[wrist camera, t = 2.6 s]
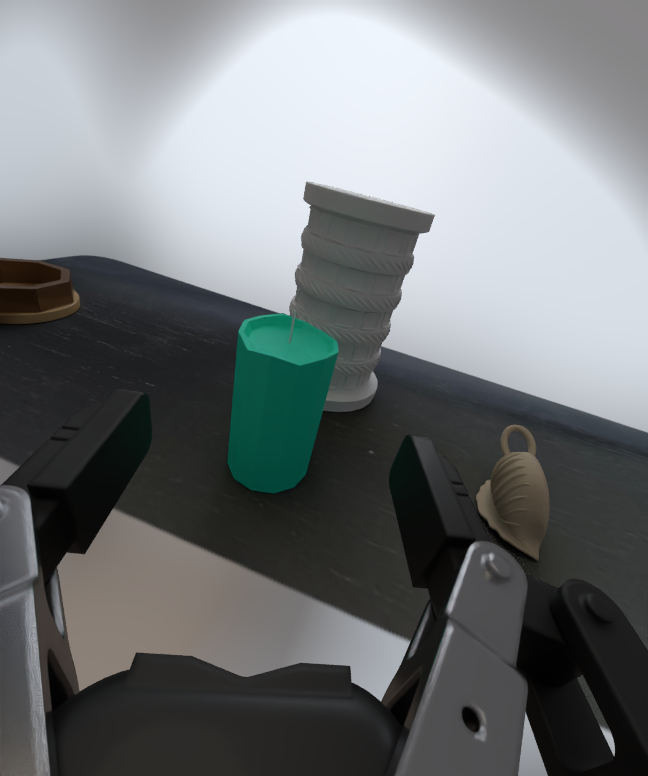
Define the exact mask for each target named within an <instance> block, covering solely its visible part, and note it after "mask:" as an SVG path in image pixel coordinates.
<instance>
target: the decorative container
mask: <svg viewBox="0 0 648 776" xmlns="http://www.w3.org/2000/svg"><path fill="white" fill-rule="evenodd" d="M303 199H304V200H305V202H307V203H308V204H310V205H311V206H310V209H311V211H310V216H309V222H308V225H307V226H306V227H305V228H304V231H303V233H302V236H301V241H302V244H301V245H302V248H303V249H304V251H303V256H302V262H301V263H300V264H299V265H298V268H297V269H296V272H295V279H296V280H295V281H296V285H297V291H296V295H295V296H294V298H293V299H292V301H291V303H290V316H292V317H293V313H294V310H295V311H296V316H295V318H297V319H300V320H302V321H305V322H307V323H309V324H311V325H312V326H314V327H316V328H318V329H320V330H321V331H323V332H325V333H326V334H328V335H329V336H331V337H332V338H333V339H335V340H336V341H338V350H339V353H338V356H337V360H336V364H335V367H334V371H333V375H332V379H331V382H330V386H329V390H328V394H327V397H326V401H325V405H324V409H323V411H332V412H348V411H354V410H358V409H361V408H363V407H365V406H366V405H368V404H369V403H370V402H371V401H372V399H373V397H374V395H375V392H376V390H377V378H376V376H375V374H374V373H373V372H372V371H373V370H374V369H375V367H376V366H377V364H378V363H379V362H378V361H379V360H380V358H379V357H380V354H381V349H380V347H381V344H382V342H383V341H384V340H385V339H386V337H387V335H388V334H389V332H390V326H391V324H390V318H391V315H392V312H393V310H394V309H395V308H396V307H397V305H398V304H399V302H400V300H401V294H402V292H401V286H402V282H403V280H404V277H405V275H406V274H407V273H408V272H409V271H410V269H411V268H412V265H413V260H414V256H413V254H412V253H413V250H414V248H415V245H416V242H417V239H418V235H419V233H426V232H429V230H430V227H431V224H432V222H433V219H434V216H435V215H433V214H431V213H428V212H425V211H421V210H418V209H414V208H411V207H407V206H404V205H400V204H396V203H393V202H389V201H385V200H381V199H377V198H373V197H370V196H366V195H362V194H358V193H354V192H350V191H346V190H342V189H338V188H334V187H330V186H326V185H321V184H316V183H312V182H306V186H305V192H304V198H303Z"/></svg>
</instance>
